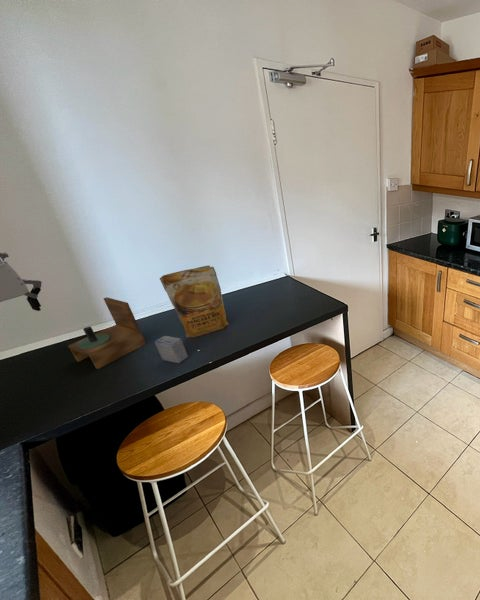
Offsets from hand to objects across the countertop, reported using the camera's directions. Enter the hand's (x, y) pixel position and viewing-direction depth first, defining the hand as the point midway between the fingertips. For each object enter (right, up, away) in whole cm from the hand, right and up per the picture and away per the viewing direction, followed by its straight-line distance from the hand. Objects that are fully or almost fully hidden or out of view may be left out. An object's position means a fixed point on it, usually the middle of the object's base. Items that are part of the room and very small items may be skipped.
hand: (15, 317), depth 92 cm
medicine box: (+28, -17, +27) cm, 43 cm away
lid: (0, -11, +24) cm, 26 cm away
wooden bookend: (+1, -15, +30) cm, 34 cm away
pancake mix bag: (+30, -8, +44) cm, 54 cm away
